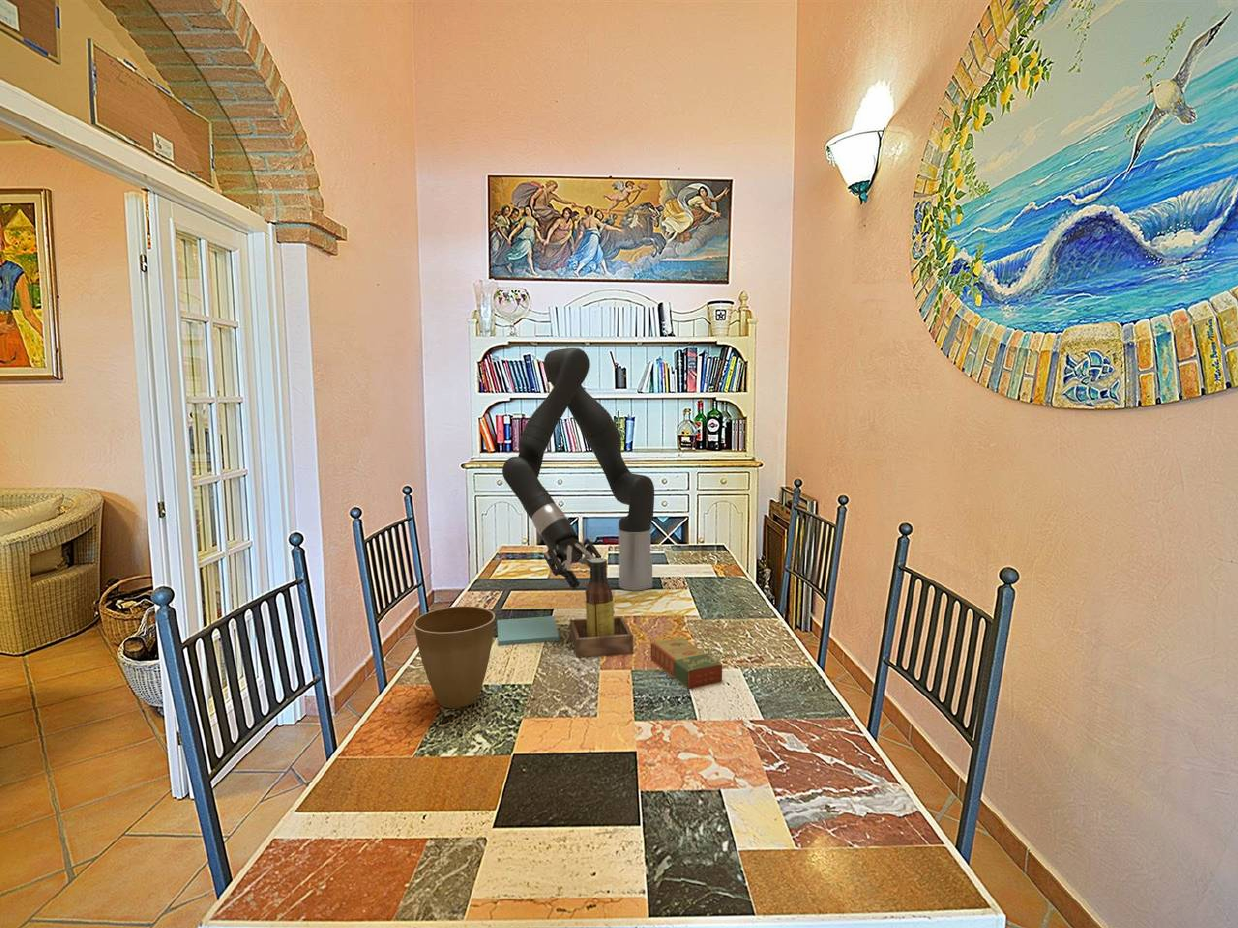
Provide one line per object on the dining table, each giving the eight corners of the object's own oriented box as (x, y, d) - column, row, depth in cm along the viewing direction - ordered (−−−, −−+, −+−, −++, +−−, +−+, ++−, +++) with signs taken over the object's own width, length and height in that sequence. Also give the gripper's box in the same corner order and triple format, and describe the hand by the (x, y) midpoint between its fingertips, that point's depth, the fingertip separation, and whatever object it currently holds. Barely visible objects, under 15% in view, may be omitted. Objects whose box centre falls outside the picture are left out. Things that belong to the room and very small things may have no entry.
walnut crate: (621, 632, 161) (621, 615, 161) (633, 652, 149) (633, 635, 148) (569, 636, 159) (569, 619, 158) (576, 657, 147) (576, 639, 146)
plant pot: (512, 690, 131) (510, 611, 129) (464, 725, 118) (461, 637, 116) (451, 676, 137) (448, 600, 135) (399, 708, 124) (395, 625, 122)
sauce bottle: (618, 640, 156) (618, 557, 153) (609, 651, 150) (608, 564, 147) (592, 637, 158) (591, 555, 155) (582, 647, 152) (581, 562, 150)
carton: (682, 654, 149) (683, 635, 149) (723, 683, 135) (723, 662, 134) (649, 660, 146) (649, 641, 145) (687, 690, 131) (688, 670, 131)
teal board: (553, 619, 170) (553, 615, 170) (559, 640, 156) (559, 636, 156) (497, 623, 167) (497, 619, 167) (498, 645, 153) (498, 641, 153)
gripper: (539, 522, 152) (576, 580, 146) (581, 512, 163) (618, 566, 157) (523, 541, 156) (559, 599, 150) (566, 531, 167) (601, 584, 161)
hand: (589, 582), depth 154 cm, fingers open, 8 cm apart
